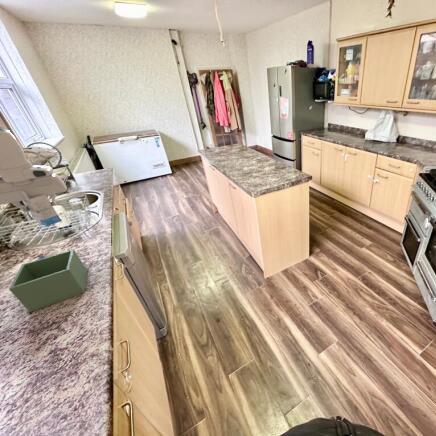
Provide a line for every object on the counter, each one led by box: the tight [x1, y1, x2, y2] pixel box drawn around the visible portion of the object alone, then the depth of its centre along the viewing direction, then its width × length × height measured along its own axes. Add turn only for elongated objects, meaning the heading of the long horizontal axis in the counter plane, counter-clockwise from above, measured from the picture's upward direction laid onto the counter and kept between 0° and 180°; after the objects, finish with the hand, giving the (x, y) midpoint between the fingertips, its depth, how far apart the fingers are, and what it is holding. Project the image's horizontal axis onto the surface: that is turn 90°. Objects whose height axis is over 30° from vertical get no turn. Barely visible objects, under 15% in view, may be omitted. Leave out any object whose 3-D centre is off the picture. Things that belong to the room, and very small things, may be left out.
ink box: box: [21, 191, 62, 227], centre depth 90 cm, size 9×5×15 cm, turn 65°
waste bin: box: [9, 248, 88, 313], centre depth 84 cm, size 15×15×11 cm
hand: (40, 208), depth 91 cm, fingers closed on ink box, 7 cm apart
